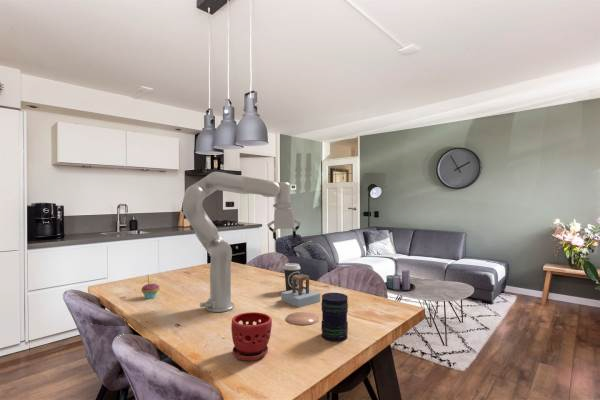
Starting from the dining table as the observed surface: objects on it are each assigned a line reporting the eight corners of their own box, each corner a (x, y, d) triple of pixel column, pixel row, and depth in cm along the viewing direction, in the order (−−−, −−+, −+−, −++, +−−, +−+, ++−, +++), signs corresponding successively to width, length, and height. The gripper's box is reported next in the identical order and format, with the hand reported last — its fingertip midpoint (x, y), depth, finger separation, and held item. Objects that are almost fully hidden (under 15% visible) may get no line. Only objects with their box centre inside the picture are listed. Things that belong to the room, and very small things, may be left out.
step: (298, 307, 150) (298, 299, 150) (281, 300, 161) (281, 292, 161) (320, 301, 159) (320, 293, 159) (302, 295, 170) (302, 287, 170)
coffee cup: (301, 289, 181) (301, 263, 181) (299, 294, 171) (299, 266, 171) (284, 288, 182) (284, 262, 182) (282, 293, 172) (282, 266, 172)
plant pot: (259, 367, 96) (259, 328, 96) (223, 359, 101) (223, 321, 101) (278, 348, 108) (278, 313, 108) (244, 342, 113) (245, 308, 113)
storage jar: (353, 336, 118) (353, 296, 118) (337, 344, 111) (338, 302, 111) (331, 328, 125) (331, 291, 125) (315, 336, 118) (316, 296, 118)
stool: (299, 295, 155) (300, 278, 156) (292, 292, 160) (292, 275, 160) (309, 293, 159) (309, 276, 159) (301, 290, 164) (301, 274, 164)
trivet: (300, 328, 126) (300, 327, 126) (279, 317, 136) (279, 317, 136) (325, 319, 135) (325, 318, 135) (304, 310, 145) (304, 309, 145)
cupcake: (137, 298, 163) (137, 275, 163) (152, 294, 170) (152, 272, 170) (148, 301, 159) (148, 277, 159) (163, 296, 166) (163, 273, 166)
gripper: (266, 207, 157) (268, 241, 157) (301, 205, 160) (302, 239, 160) (266, 206, 165) (267, 239, 165) (299, 205, 167) (300, 237, 167)
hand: (284, 239), depth 162 cm, fingers open, 9 cm apart
